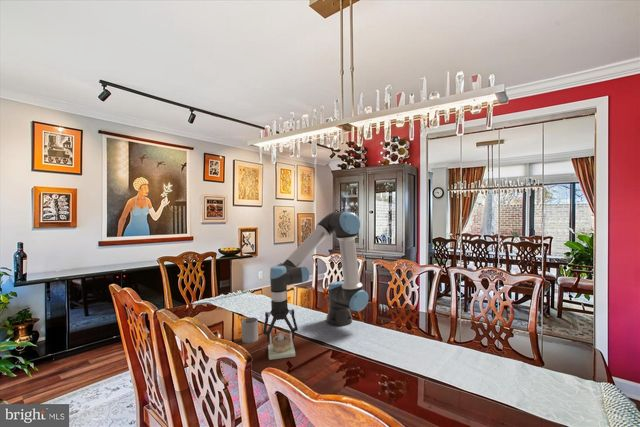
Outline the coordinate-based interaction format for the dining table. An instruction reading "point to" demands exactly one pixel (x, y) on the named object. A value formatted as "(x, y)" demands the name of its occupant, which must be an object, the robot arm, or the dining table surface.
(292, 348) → the post stand
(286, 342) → the ring
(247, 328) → the cup
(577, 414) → the dining table surface
